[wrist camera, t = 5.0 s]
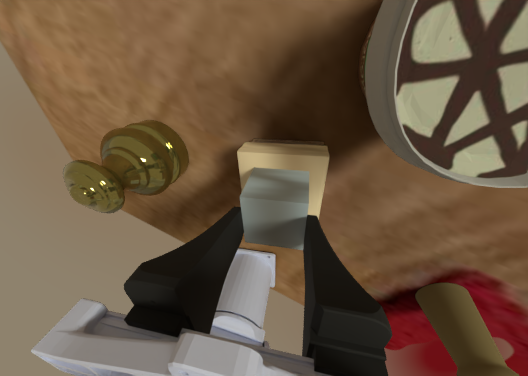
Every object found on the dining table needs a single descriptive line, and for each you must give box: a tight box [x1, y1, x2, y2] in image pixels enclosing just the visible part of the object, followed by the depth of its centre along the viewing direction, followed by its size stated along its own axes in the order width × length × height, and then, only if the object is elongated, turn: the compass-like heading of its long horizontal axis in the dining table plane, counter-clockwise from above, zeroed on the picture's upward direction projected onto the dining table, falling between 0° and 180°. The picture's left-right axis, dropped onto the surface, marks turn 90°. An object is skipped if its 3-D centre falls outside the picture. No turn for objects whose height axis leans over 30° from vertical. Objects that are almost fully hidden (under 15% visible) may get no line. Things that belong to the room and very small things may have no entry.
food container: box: [358, 0, 528, 188], centre depth 11 cm, size 12×6×10 cm, turn 20°
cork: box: [415, 283, 519, 376], centre depth 22 cm, size 6×6×11 cm
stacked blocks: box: [237, 142, 329, 250], centre depth 16 cm, size 7×7×6 cm
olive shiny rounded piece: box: [63, 120, 189, 213], centre depth 19 cm, size 7×7×10 cm
